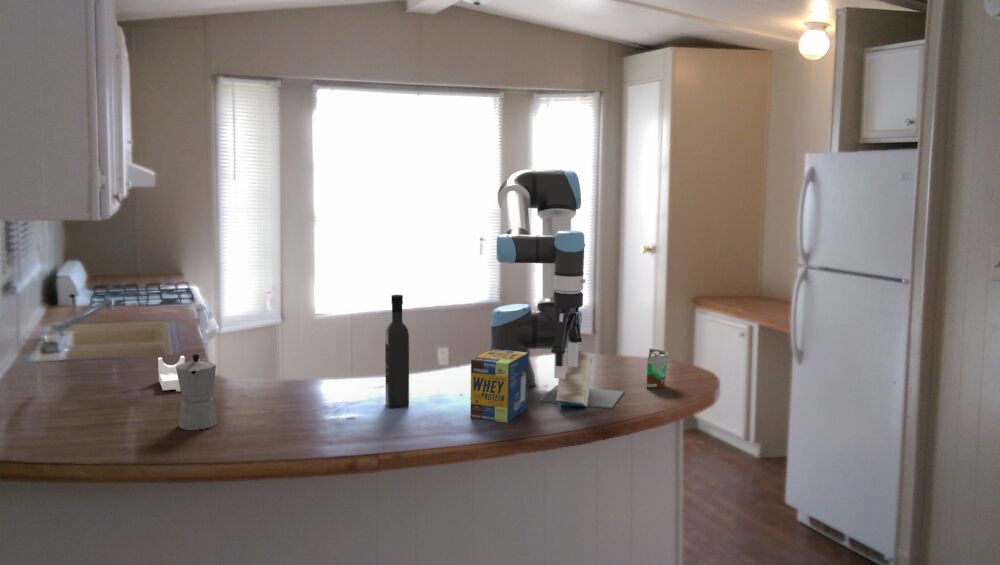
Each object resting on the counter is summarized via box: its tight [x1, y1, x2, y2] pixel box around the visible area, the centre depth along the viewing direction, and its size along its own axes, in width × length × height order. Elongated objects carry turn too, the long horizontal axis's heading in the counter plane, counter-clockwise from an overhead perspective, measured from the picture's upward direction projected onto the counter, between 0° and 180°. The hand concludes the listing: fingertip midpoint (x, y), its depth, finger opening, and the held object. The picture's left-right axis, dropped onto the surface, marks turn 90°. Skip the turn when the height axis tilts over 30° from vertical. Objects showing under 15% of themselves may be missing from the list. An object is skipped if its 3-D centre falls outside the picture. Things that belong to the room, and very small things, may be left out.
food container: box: [646, 348, 670, 390], centre depth 273 cm, size 12×6×10 cm, turn 168°
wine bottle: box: [384, 294, 410, 409], centre depth 246 cm, size 6×6×30 cm
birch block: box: [556, 349, 594, 408], centre depth 249 cm, size 7×7×14 cm
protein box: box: [470, 348, 528, 424], centre depth 242 cm, size 10×15×16 cm
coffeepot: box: [176, 353, 218, 431], centre depth 228 cm, size 15×9×18 cm, turn 13°
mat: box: [539, 384, 625, 410], centre depth 260 cm, size 20×18×1 cm
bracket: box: [157, 355, 186, 392], centre depth 265 cm, size 13×7×8 cm, turn 25°
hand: (566, 372), depth 239 cm, fingers open, 13 cm apart
